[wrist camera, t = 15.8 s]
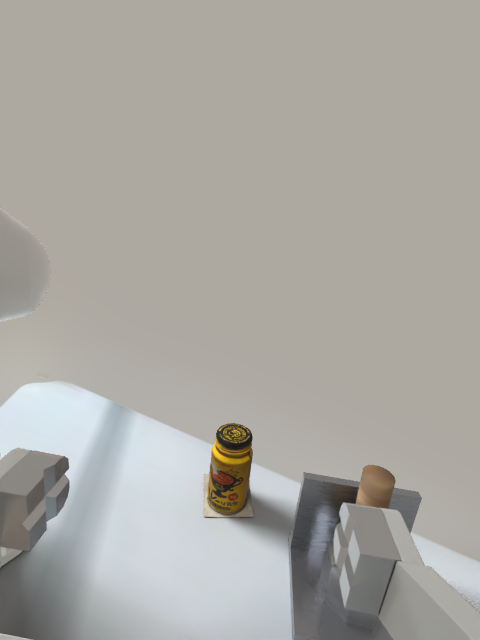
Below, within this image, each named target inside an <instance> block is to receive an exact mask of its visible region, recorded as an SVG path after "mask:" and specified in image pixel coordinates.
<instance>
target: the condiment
mask: <svg viewBox="0 0 480 640" xmlns="http://www.w3.org/2000/svg"><path fill="white" fill-rule="evenodd" d="M251 442H252V434H251V431H250V430H249V429H248V428H246V427H245V426H243V425H239V424H234V423H233V424H226V425H223V426H221V427H220V428H219V429H218V430H217V433H216V440H215V444H214V446H213V448H212V457H211V465H210V473H209V474H204V517H254V515H253V509H252V504H251V498H250V490H249V485H248V484H249V477H250V470H251V463H252V453H253V452H252V448H251V446H252V443H251Z"/></svg>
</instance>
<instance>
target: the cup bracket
mask: <svg viewBox="0 0 480 640" xmlns="http://www.w3.org/2000/svg"><path fill="white" fill-rule="evenodd" d="M359 486H360V482H357V481H351V480H345V479H340V478H333V477H328V476H322V475H316V474H310V473H305V472H304V473H303V478H302V483H301V488H300V493H299V498H298V503H297V508H296V513H295V518H294V523H293V528H292V533H290V534H289V539H288V541H289V566H290V590H291V614H292V639H293V640H393V638H392V637H391V635H390V634H389V632H388V631H387V629H386V628H385V626H384V625H383V624H382V622H381V621H380V619H379V616H377V615H373V614H368V613H363V612H359V611H354V610H349V609H345V607H344V602H343V597H342V593H341V588H340V583H339V580H340V576H341V572H342V571H341V570H340V569H339V568H338V566H337V565H336V562H335V556H334V533H335V529H336V525H338V524H339V523H340V522H341V519H340V514H339V512H340V508H341V505H342V504H343V502H345V503H351V504H356V499H357V495H358V490H359ZM421 499H422V498H421V496H420V494H419V492H415V491H410V490H404V489H398V488H394V489H393V493H392V497H391V501H390V505H389V509H392V510H398V511H399V512H400V513H401V515H402V518H403V520H404V522H405V524H406V526H407V528H408V531H409V533H411V530H412V526H413V523H414V520H415V517H416V514H417V511H418V508H419V505H420V502H421Z"/></svg>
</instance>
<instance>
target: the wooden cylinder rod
mask: <svg viewBox="0 0 480 640" xmlns="http://www.w3.org/2000/svg"><path fill="white" fill-rule="evenodd" d="M394 485H395V478H394V476H393V475H392V474H391V473H390V472H389V471H388V470H386V469H384V468H382V467H379V466H375V465H368V466H365V467H364V468H363V472H362V476H361V481H360V486H359V490H358V495H357V499H356V504H358V505H364V506H370V507H377V508H385V509H389V505H390V501H391V497H392V493H393V489H394Z"/></svg>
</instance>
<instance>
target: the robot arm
mask: <svg viewBox="0 0 480 640" xmlns="http://www.w3.org/2000/svg"><path fill="white" fill-rule="evenodd" d="M49 283H50V265H49V260H48V257H47V254H46V252H45V250H44V247H43V246H42V244H41V242H40V241H39V240H38V238H37V237H36V236H35V235H34V234H33V232H32V231H31V230H30V229H28V228H27V227H26V226H25V225H24V224H23V223H21V222H20V221H18V220H17V219H15V218H14V217H12V216H11V215H9V214H8V213H7V212H6V211H4V210H3V209H2V208H1V207H0V322H1V321H6V320H11V319H15V318H19V317H23V316H27V315H30V314H31V313H32V312H33V311H34V310H35V309H36V308H37V307H38V306H39V305H40V303H41V302H42V300H43V299H44V297H45V295H46V293H47V290H48V287H49ZM68 469H69V463H68V458H66V457H65V456H59V455H54V454H49V453H44V452H39V451H31V450H26V449H21V448H17V449H13V450H12V451H10V452H9V453H8V454H7V455H6V456H4V457H3V458H1V453H0V567H1V566H3V565H4V564H6V563H7V562H9V561H10V560H12V559H13V558H14V557H16V556H17V555H19V554H20V553H21V552H22V551H23V550H24V551H31V549H32V548H33V547H34V545H35V544H36V543H37V541H38V540H39V539H40V537H41V536H42V535H43V533H44V532H45V531H46V521H48V520H50V519H52V518H54V517H55V516H57V515H58V513H59V512H60V510H61V509H62V508H63V506H64V503H65V501H66V499H67V497H68V492H69V480H68V478H67V477H66V475H65V474H64V473H65V472H66V471H67V470H68ZM339 514H340V519H341V522H340V523H339V524H338V525H336V529H335V533H334V556H335V562H336V565H337V566H338V568H339V569H340V570H341V571H342V572H341V576H340V580H339V583H340V588H341V593H342V597H343V602H344V607H345V609H349V610H354V611H359V612H363V613H368V614H373V615H377V616H379V619H380V621H381V622H382V624H383V625H384V626H385V628H386V629H387V631H388V632H389V634H390V635H391V637H392V638H393V640H480V613H479V612H478V611H477V610H476V609H475V608H474V607H473V606H472V605H471V604H470V603H469V602H467V601H466V600H465V599H464V598H463V597H462V596H461V595H460V594H459V593H458V592H457V591H456V590H455V589H454V588H453V587H452V586H451V585H449V584H448V583H447V582H446V581H445V580H444V579H443V578H442V577H441V576H440V575H439V574H438V573H437V572H436V571H435V570H434V569H432V568H431V567H429V566H425V565H424V563H423V561H422V558H421V556H420V554H419V552H418V550H417V548H416V546H415V543H414V541H413V539H412V537H411V535H410V533H409V531H408V528H407V526H406V524H405V522H404V520H403V518H402V515H401V513H400V512H399V511H398V510H392V509H385V508H377V507H370V506H364V505H358V504H351V503H345V502H343V504H342V505H341V508H340V512H339ZM0 640H32V639H27V638H22V637H17V636H12V635H6V634H1V633H0Z"/></svg>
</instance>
